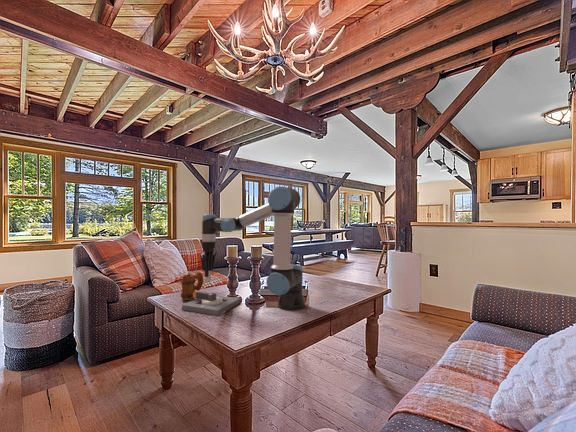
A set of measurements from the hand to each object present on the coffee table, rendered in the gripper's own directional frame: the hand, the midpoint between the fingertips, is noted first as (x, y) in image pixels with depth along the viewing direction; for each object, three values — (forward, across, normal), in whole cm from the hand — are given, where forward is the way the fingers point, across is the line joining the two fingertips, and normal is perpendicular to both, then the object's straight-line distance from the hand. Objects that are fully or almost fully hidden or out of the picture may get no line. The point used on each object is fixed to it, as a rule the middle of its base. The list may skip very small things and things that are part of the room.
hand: (207, 282), depth 167 cm
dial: (+10, +6, +4) cm, 12 cm away
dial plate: (+11, +6, +8) cm, 15 cm away
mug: (+12, -1, -12) cm, 16 cm away
